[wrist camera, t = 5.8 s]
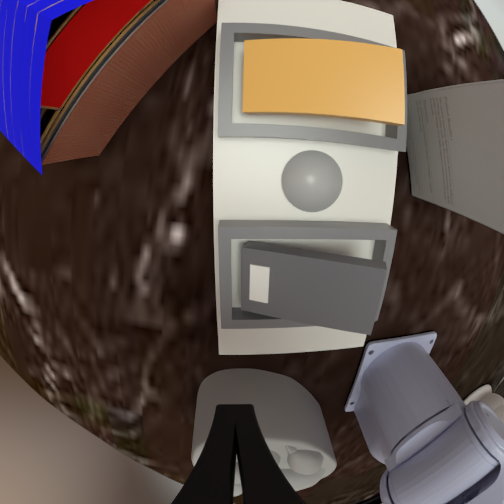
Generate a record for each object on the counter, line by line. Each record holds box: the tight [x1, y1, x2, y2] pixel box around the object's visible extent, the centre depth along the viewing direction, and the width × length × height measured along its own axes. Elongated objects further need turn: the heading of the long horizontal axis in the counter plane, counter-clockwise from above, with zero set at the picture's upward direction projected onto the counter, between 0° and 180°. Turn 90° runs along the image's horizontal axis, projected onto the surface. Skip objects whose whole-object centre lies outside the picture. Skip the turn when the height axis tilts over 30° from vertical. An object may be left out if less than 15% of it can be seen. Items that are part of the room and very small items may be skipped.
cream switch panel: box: [213, 0, 407, 355], centre depth 15 cm, size 22×10×4 cm, turn 179°
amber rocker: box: [242, 38, 405, 126], centre depth 10 cm, size 4×7×1 cm, turn 89°
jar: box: [463, 385, 504, 424], centre depth 23 cm, size 11×10×15 cm
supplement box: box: [406, 79, 504, 234], centre depth 10 cm, size 7×7×13 cm
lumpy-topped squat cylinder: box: [191, 368, 337, 496], centre depth 20 cm, size 10×13×9 cm
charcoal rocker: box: [241, 241, 387, 335], centre depth 14 cm, size 4×7×1 cm, turn 89°
